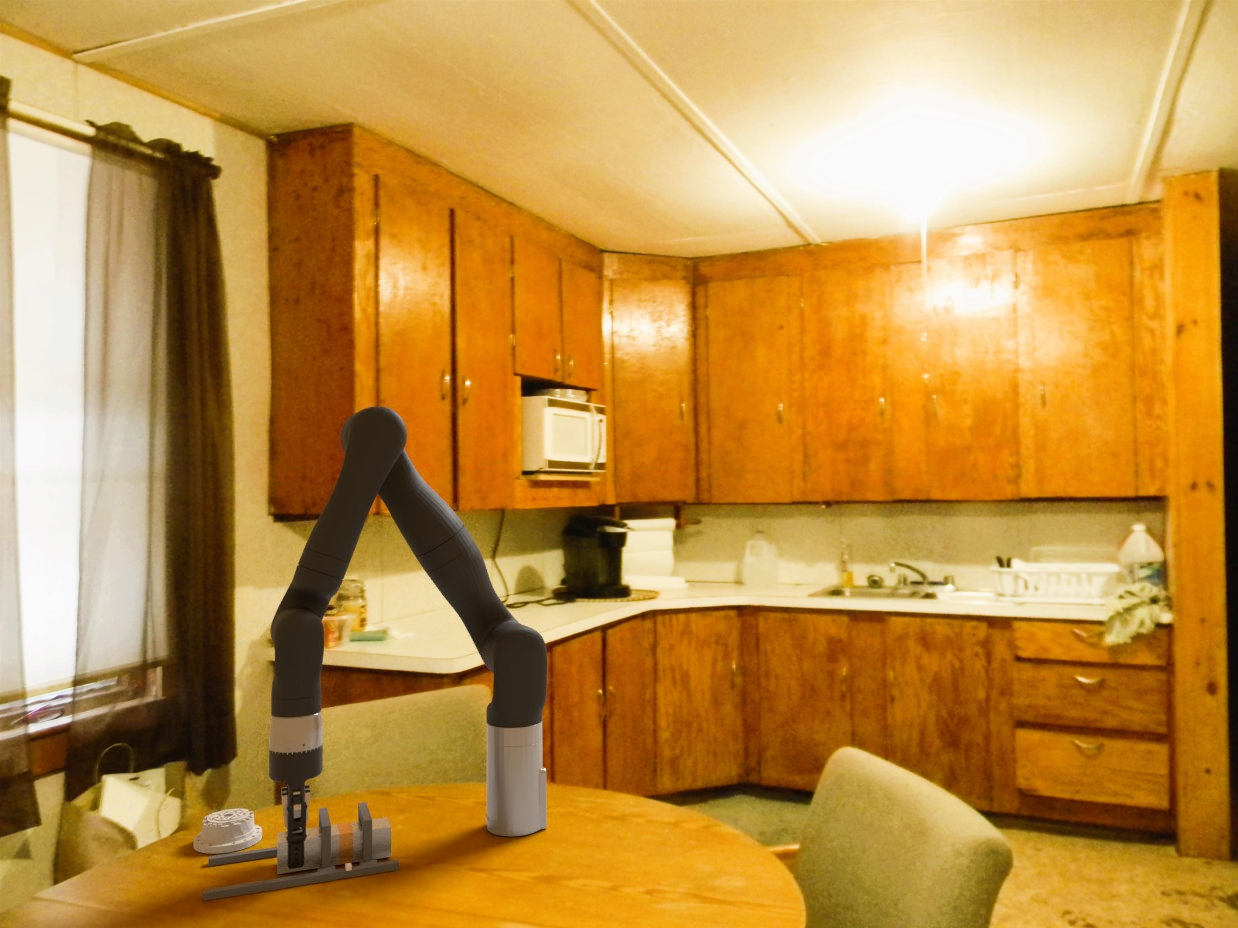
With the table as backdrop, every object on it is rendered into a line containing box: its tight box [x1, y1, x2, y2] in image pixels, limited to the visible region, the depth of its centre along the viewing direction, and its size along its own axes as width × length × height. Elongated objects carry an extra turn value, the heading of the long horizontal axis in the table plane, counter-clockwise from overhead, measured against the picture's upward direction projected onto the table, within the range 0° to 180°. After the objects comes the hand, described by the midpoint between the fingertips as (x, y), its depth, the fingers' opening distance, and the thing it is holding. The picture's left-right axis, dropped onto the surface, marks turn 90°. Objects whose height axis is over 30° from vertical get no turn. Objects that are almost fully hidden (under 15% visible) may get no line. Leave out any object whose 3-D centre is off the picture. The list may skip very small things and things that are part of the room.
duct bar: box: [276, 817, 392, 875], centre depth 131 cm, size 16×4×4 cm, turn 112°
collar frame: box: [202, 801, 400, 902], centre depth 130 cm, size 26×14×7 cm, turn 112°
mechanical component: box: [192, 807, 263, 855], centre depth 140 cm, size 10×4×10 cm
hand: (295, 860), depth 129 cm, fingers closed on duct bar, 4 cm apart
